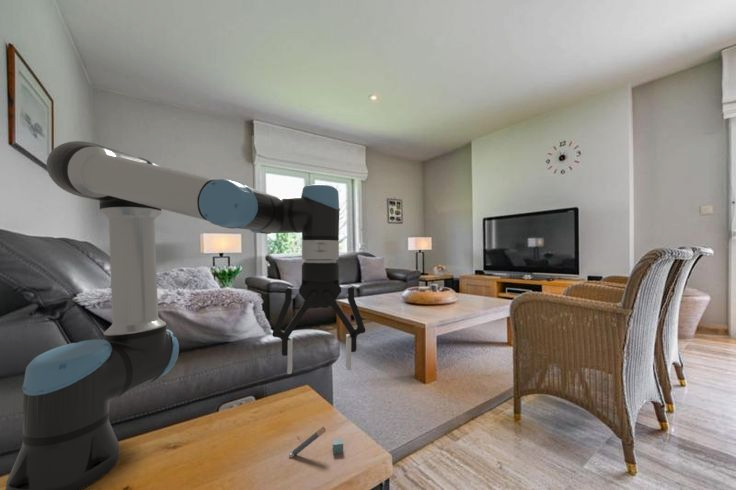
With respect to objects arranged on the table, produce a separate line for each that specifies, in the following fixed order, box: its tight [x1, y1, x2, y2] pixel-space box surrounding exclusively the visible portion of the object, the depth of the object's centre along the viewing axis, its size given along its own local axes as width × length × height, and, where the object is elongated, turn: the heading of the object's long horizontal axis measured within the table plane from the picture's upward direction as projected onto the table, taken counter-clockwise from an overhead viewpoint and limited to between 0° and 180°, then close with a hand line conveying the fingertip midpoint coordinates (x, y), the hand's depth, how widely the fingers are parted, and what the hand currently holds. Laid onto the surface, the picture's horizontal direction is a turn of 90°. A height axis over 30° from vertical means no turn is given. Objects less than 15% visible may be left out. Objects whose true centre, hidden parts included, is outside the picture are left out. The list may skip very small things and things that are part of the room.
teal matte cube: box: [332, 438, 344, 455], centre depth 62 cm, size 2×2×3 cm
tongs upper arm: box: [288, 426, 326, 459], centre depth 61 cm, size 8×1×1 cm
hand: (319, 369), depth 62 cm, fingers open, 11 cm apart
